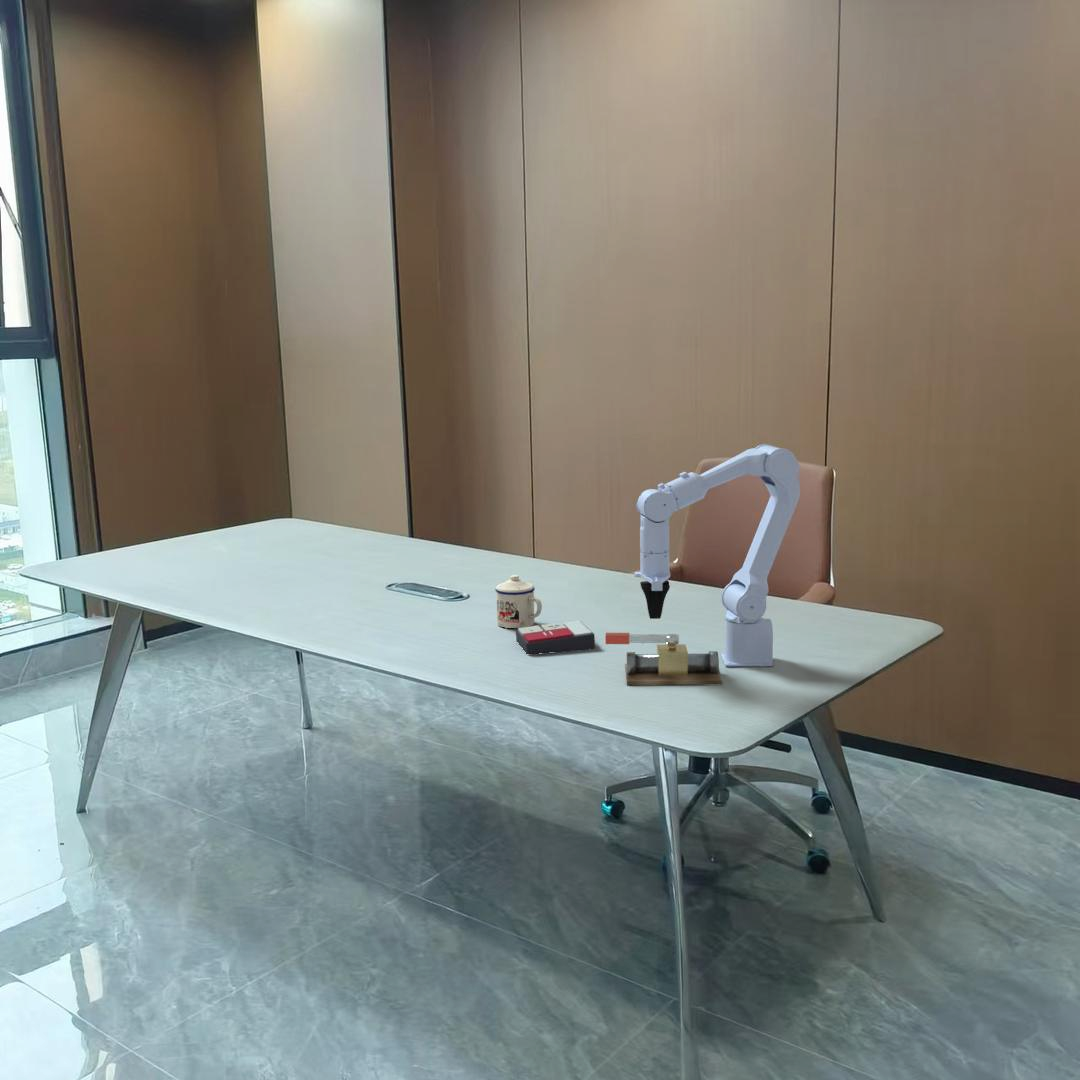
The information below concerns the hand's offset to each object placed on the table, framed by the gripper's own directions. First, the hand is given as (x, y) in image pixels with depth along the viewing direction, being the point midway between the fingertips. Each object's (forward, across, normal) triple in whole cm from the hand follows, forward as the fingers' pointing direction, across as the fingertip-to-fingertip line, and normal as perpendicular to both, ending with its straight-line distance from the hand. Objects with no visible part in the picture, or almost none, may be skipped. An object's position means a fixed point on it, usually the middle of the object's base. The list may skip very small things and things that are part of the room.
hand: (654, 617), depth 212 cm
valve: (+10, +5, +3) cm, 12 cm away
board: (+10, +5, +3) cm, 12 cm away
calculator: (+11, -17, -21) cm, 29 cm away
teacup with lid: (+11, -33, -29) cm, 45 cm away
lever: (+4, +5, -3) cm, 7 cm away
